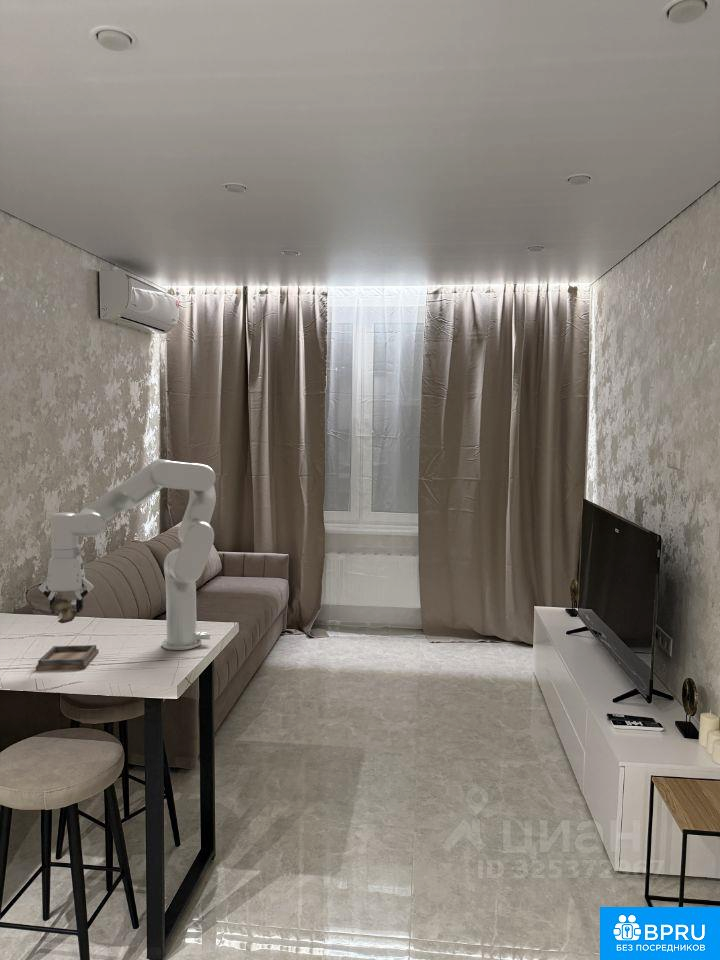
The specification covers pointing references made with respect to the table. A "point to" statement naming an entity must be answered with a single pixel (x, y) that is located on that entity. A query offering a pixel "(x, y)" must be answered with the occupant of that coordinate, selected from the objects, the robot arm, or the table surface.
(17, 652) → the table surface
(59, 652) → the wooden tray
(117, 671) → the table surface
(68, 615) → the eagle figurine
